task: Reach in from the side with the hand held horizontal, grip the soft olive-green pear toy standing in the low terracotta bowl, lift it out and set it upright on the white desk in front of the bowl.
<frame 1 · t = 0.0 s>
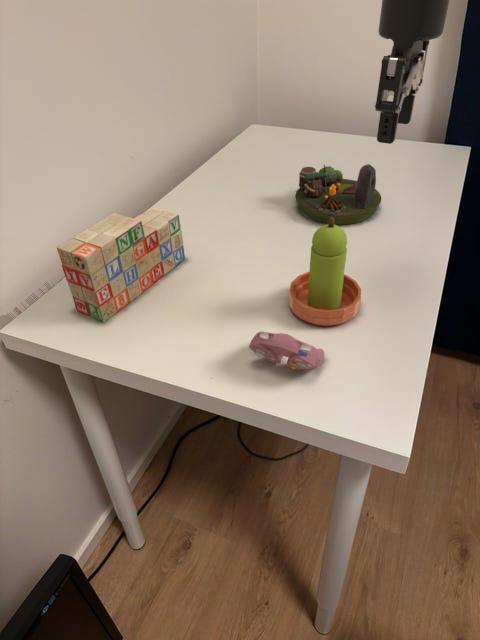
hand: (394, 132, 66), 25 cm above the table, tool pointing down, fingers open, 8 cm apart
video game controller: (286, 363, 68), on the table
stack of blocks: (134, 284, 85), on the table
pear toy: (323, 302, 77), point 1 cm above the table, touching bowl
bowl: (323, 305, 78), on the table
toy scene: (336, 207, 104), on the table
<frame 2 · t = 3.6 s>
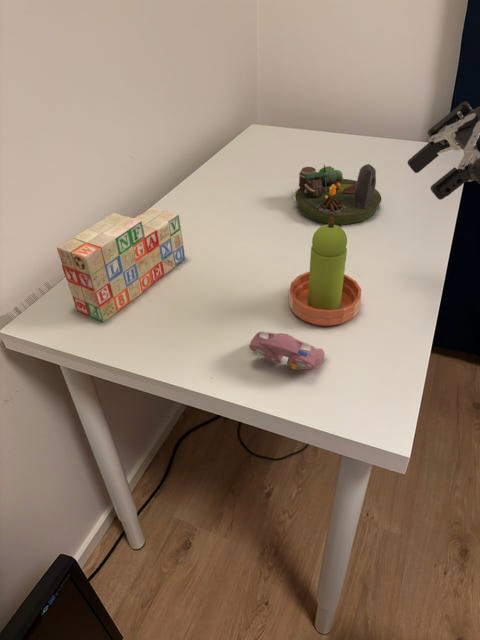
hand: (422, 180, 65), 20 cm above the table, tool tilted 45°, fingers open, 8 cm apart
nothing on the table moved.
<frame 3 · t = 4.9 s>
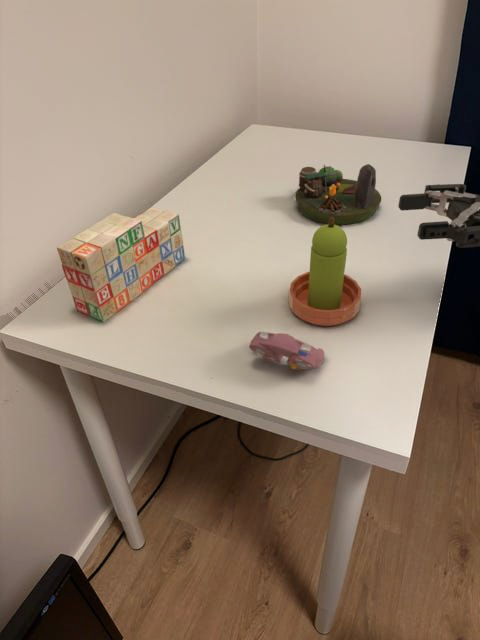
hand: (408, 216, 68), 15 cm above the table, tool horizontal, fingers open, 8 cm apart
nothing on the table moved.
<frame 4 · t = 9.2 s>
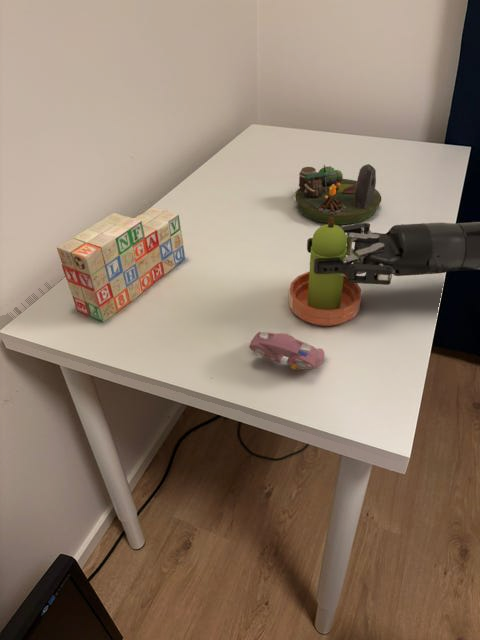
hand: (311, 255, 72), 10 cm above the table, tool horizontal, fingers closed on pear toy, 5 cm apart
pear toy: (323, 302, 77), point 1 cm above the table, touching bowl, gripper
everything else where it was.
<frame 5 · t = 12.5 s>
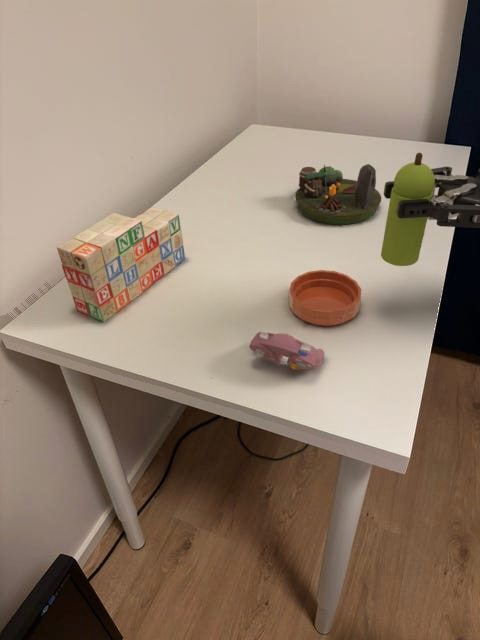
hand: (391, 199, 64), 19 cm above the table, tool horizontal, fingers closed on pear toy, 5 cm apart
pear toy: (399, 256, 70), point 10 cm above the table, touching gripper
everything else where it was.
when the fingers open (9 cm above the table, at t = 16.2 s): pear toy stays where it is, on the table.
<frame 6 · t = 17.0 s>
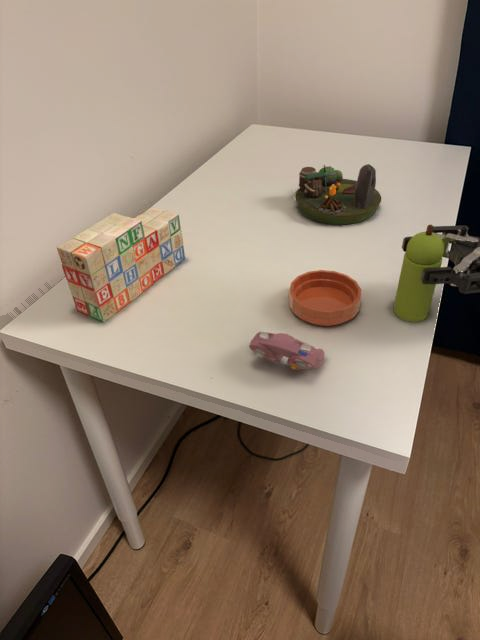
hand: (412, 259, 70), 10 cm above the table, tool horizontal, fingers open, 8 cm apart
pear toy: (410, 311, 76), on the table
everything else where it was.
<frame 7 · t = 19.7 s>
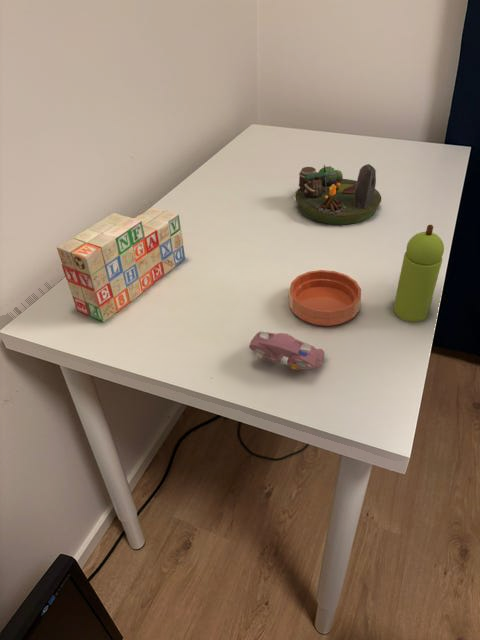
nothing on the table moved.
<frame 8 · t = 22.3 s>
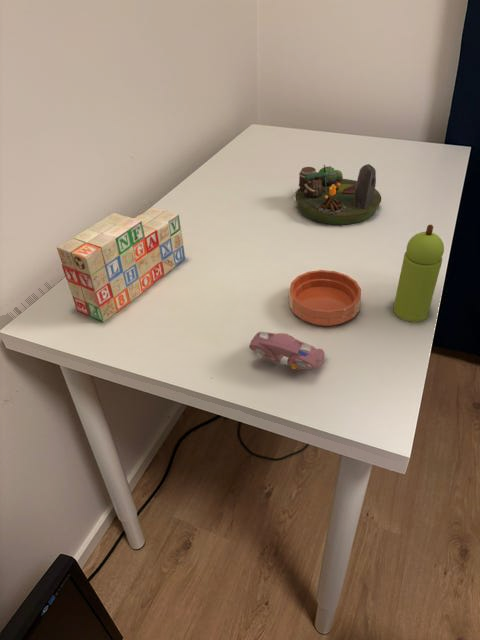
nothing on the table moved.
at the end: pear toy inside the target area (0.1 cm from its centre), on the table; pear toy tilted 0°; pear toy touching table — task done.
